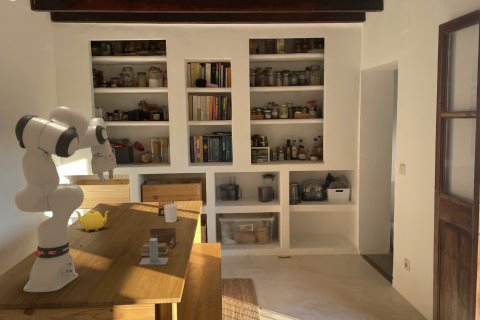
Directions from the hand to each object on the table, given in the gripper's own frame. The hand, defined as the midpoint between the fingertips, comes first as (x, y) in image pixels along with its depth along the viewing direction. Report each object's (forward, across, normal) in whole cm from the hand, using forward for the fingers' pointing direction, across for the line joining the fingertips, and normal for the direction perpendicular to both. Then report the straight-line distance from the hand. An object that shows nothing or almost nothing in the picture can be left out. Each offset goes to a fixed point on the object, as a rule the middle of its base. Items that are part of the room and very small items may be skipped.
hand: (107, 180), depth 207 cm
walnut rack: (+38, +13, -16) cm, 43 cm away
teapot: (+32, +42, +33) cm, 62 cm away
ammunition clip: (+37, +76, -1) cm, 85 cm away
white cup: (+38, +62, -8) cm, 73 cm away
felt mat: (+39, -11, -19) cm, 45 cm away
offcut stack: (+38, 0, -16) cm, 41 cm away
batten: (+38, -11, -19) cm, 44 cm away
